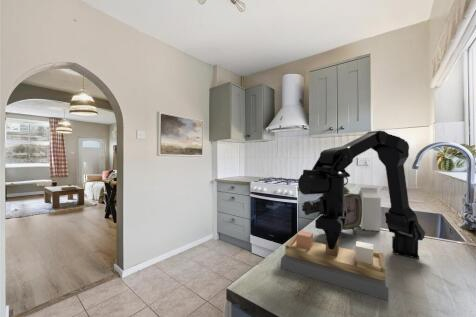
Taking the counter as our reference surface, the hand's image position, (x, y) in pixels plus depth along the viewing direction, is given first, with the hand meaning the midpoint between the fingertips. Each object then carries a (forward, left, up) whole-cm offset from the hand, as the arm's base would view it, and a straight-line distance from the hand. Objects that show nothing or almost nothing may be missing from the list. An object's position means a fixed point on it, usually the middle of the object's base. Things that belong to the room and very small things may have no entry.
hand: (332, 245), depth 62 cm
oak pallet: (0, 0, -4) cm, 4 cm away
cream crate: (-8, 0, -2) cm, 8 cm away
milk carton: (-9, -49, -7) cm, 50 cm away
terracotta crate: (+8, 0, -2) cm, 8 cm away
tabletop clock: (+1, -34, -7) cm, 35 cm away
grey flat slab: (0, 0, -7) cm, 7 cm away
